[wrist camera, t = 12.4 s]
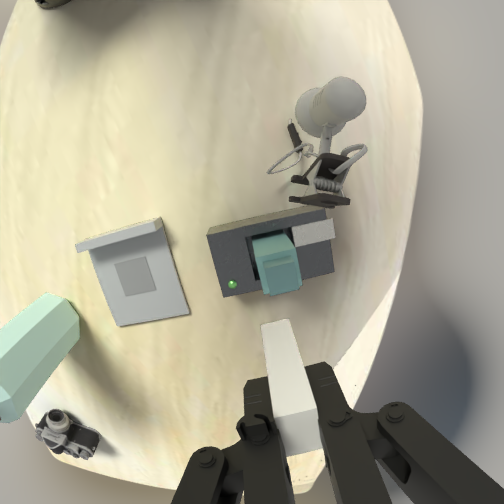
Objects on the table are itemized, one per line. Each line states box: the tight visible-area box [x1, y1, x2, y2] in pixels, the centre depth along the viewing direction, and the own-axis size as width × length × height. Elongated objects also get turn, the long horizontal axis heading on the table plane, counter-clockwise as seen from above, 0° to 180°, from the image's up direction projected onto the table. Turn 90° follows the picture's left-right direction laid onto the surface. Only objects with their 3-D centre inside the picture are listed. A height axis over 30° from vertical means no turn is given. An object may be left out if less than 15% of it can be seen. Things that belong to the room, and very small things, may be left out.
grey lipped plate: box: [75, 217, 190, 326], centre depth 38 cm, size 14×12×4 cm
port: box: [207, 205, 336, 297], centre depth 37 cm, size 8×15×5 cm, turn 103°
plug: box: [251, 229, 302, 296], centre depth 33 cm, size 4×4×12 cm
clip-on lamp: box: [267, 77, 367, 208], centre depth 28 cm, size 12×6×18 cm, turn 172°
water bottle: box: [0, 292, 80, 423], centre depth 29 cm, size 10×10×25 cm
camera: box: [35, 409, 101, 460], centre depth 44 cm, size 16×8×10 cm, turn 79°
